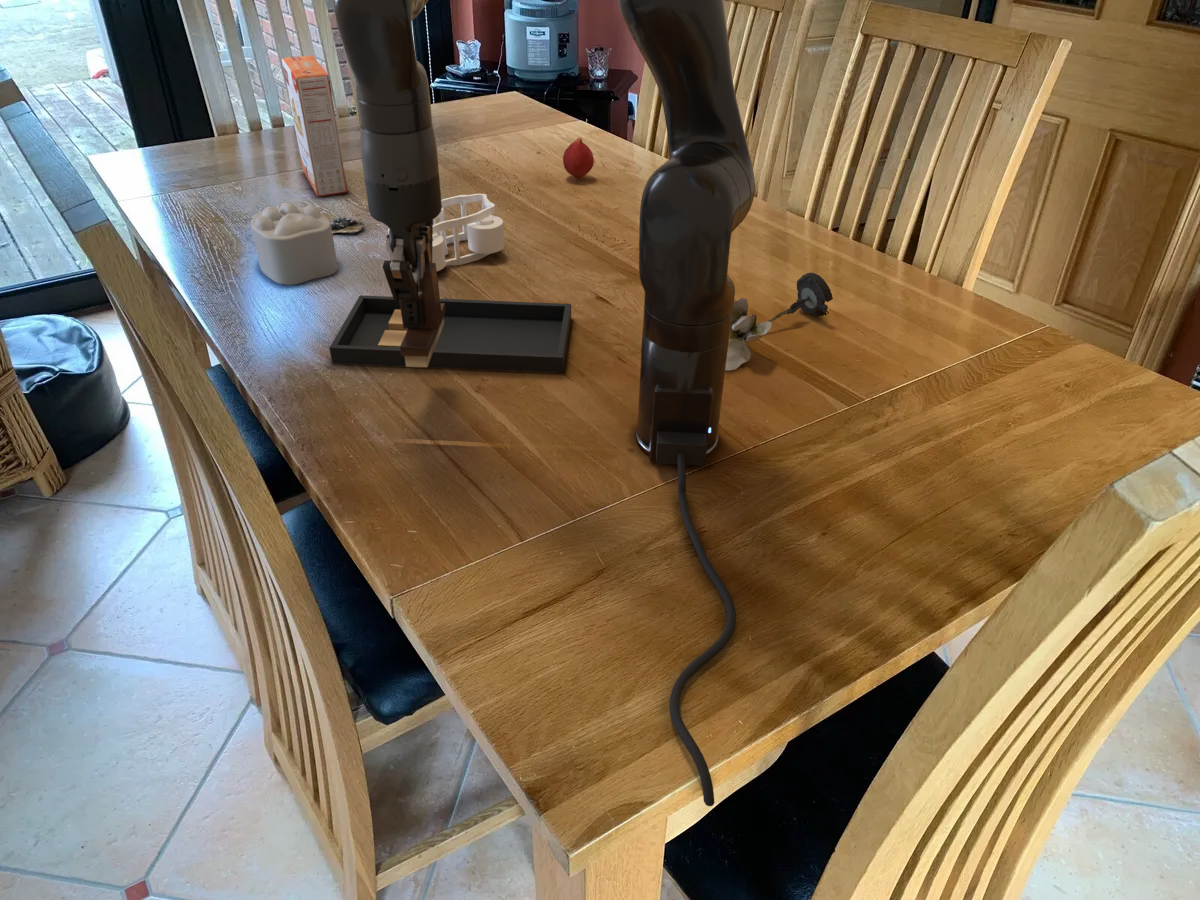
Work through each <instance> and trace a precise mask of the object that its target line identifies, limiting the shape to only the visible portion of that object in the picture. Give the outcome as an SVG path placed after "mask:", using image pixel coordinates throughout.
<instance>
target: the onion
mask: <svg viewBox="0 0 1200 900" xmlns="http://www.w3.org/2000/svg"><path fill="white" fill-rule="evenodd" d="M593 154H594V153H593V151H592V149H591V148H590V147H589V146H588V145H587V144H585V143H584V142H583V139H582V137H577V138H576V139H575V140H574V141H573V142H571V143H570V144H569V146H567V148H565V150H564V152H563V155H562V163H563V167H564V169H565V171H566V172H567V173H568V174H569V175H570V176H572V177H573V178H575V179H576V180H577V181H578V180H579V181H580V180H582V179H583V178H584V177H585V176H586V175H588V174H589V173H590V172H591V171H592V169H593V167H594V163H595V160H594V159H595V158H594V155H593Z"/></svg>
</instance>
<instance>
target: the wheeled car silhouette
mask: <svg viewBox="0 0 1200 900" xmlns="http://www.w3.org/2000/svg"><path fill="white" fill-rule="evenodd" d="M477 202H481V210H479V211H477V212H475V213H472V214H469V215H468V214H467V204H472V203H477ZM441 203H442V210H441V212H440V214H439V215H438V216H437V217H436V218H434V219H433V243H432V263H436V271H437V272H439V271H441V270H443V269H444V268H445V267H446V266H462V265H466V264H470V263H473V262H475V261H479V260H481V259H484V258H485V257H487V256H488V255H490V254H494V253H498V252H501V251H502V250H503V249H504V248H505V235H504V233H505V232H504V220H503V219H502V218H501V217H499V216H497V215H493V214H495V213H496V205H495V203H493V202H492V201H490V200H489V199H488V195H487V194H486V193H473V194H459V195H454V196H451V197H447V198H443V199H442V198H441ZM454 205H460V212H461V213H460V214H461V217H458V218H457V217H456V218H453V219H448V220H445V209H444V208H446V207H451V206H454ZM437 219H438V222H437ZM459 227H462V232H459ZM449 229H452V234H451V235H447V233H446V230H449ZM389 230H390V229H389V228H388V229H387V234H389ZM439 233H440V234H439ZM461 241H467V248H468V250H470V251H471V252H473V253H469V254H466V255H463V256H461V247H460V242H461ZM449 244H453V249H454V258H449V259H446V256H447V255H448V254H449V249H448V246H447V245H449Z"/></svg>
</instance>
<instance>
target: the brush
mask: <svg viewBox="0 0 1200 900" xmlns="http://www.w3.org/2000/svg"><path fill="white" fill-rule="evenodd" d="M412 269H418V267H412ZM437 272H438V271H436V263H425V275H424V276H423V278H422V279H421V282H422V291H423V295H422V298H423V308H424V317H425V324H424V326H423V327H422V328H409V327H406V326H405V325H404V318H403V310H402V301H401V300H399V302H400V309H401V315H402V322H403V328H405V329H408V330H407V332H406V334H405V337H404V339H403V341H402V343H401V345H400V351H401V356H405V363H406V366H405V368H429V367H428V364H429V362H430V359H431V357H432V354H433V351H434V349H435V346H436V344H437V341H438V339H439V336H440V334H441V331H442V328H443V326H444V315H445V312H446V310H445V303H440V299H441V296H440V287H439V280H438V273H437Z"/></svg>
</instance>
